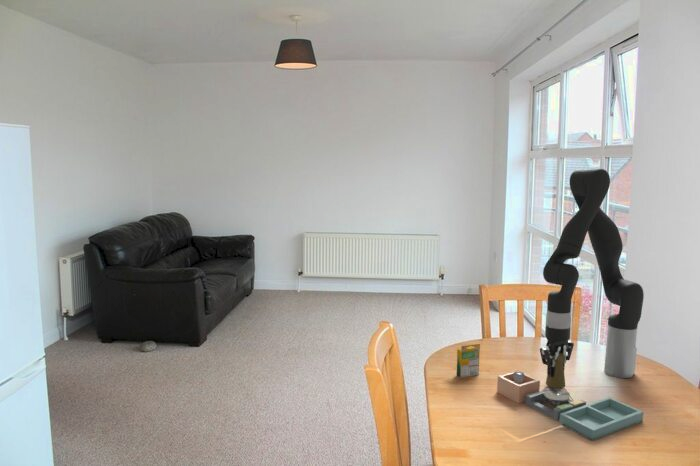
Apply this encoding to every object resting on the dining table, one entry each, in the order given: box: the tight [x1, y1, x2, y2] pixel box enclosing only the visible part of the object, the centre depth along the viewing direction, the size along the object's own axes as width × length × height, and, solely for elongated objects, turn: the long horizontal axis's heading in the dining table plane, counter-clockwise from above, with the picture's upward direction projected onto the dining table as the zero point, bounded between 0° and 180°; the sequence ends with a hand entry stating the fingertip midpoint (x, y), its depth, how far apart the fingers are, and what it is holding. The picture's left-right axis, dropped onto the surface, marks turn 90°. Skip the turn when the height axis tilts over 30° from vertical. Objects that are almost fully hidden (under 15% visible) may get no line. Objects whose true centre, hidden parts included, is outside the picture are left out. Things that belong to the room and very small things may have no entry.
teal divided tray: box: [559, 396, 644, 441], centre depth 159 cm, size 22×11×3 cm, turn 120°
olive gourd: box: [545, 353, 566, 389], centre depth 180 cm, size 6×6×11 cm
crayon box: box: [456, 343, 481, 378], centre depth 191 cm, size 7×3×12 cm, turn 108°
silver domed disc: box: [542, 386, 571, 407], centre depth 166 cm, size 8×8×4 cm
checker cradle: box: [525, 389, 587, 422], centre depth 167 cm, size 12×12×4 cm
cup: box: [496, 370, 541, 404], centre depth 175 cm, size 9×9×6 cm
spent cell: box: [513, 370, 525, 384], centre depth 175 cm, size 3×3×7 cm
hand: (555, 374), depth 180 cm, fingers closed on olive gourd, 4 cm apart
